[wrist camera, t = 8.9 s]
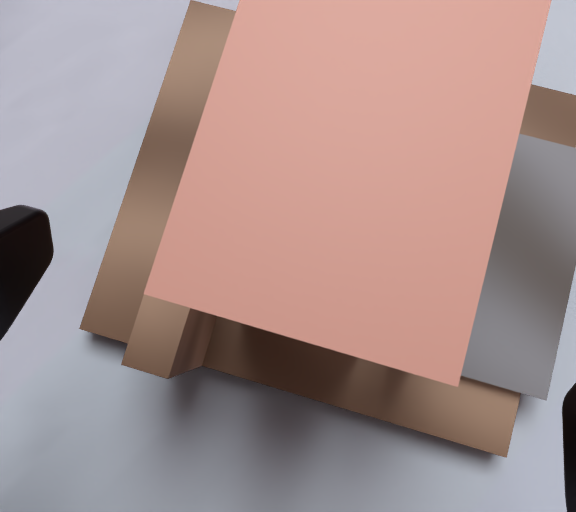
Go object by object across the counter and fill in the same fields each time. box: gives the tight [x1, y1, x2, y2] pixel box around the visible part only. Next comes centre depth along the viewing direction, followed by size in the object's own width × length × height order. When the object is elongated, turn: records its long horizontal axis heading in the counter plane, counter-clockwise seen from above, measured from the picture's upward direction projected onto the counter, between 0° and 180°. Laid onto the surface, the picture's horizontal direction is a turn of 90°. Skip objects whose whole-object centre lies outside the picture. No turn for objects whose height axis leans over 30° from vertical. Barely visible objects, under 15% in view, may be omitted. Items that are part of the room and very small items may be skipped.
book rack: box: [79, 0, 576, 458], centre depth 15 cm, size 12×15×5 cm
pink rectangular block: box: [144, 0, 551, 387], centre depth 12 cm, size 8×4×10 cm, turn 164°
